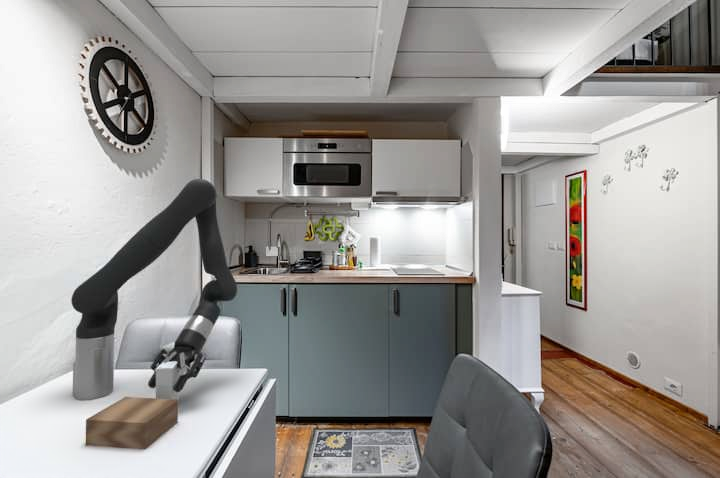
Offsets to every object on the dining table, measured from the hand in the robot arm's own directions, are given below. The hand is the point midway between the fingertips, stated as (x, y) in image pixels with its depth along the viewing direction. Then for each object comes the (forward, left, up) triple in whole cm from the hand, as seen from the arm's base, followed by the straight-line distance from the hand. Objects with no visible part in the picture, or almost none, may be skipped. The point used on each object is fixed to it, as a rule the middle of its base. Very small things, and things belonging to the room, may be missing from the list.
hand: (163, 389), depth 97 cm
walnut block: (+2, -11, -6) cm, 12 cm away
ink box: (-14, +19, -6) cm, 25 cm away
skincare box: (0, +1, -6) cm, 7 cm away
